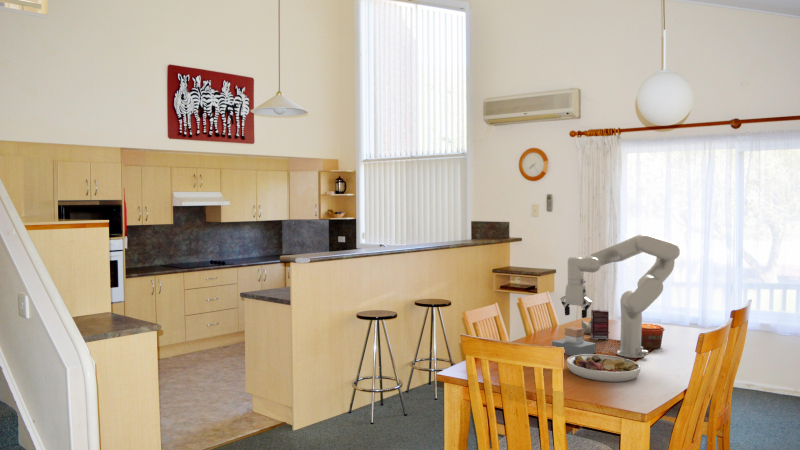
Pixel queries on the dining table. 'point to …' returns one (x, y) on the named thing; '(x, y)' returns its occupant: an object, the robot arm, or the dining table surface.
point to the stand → (576, 347)
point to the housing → (574, 335)
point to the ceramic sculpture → (587, 327)
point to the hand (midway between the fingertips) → (575, 316)
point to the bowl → (603, 367)
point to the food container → (651, 336)
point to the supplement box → (599, 324)
